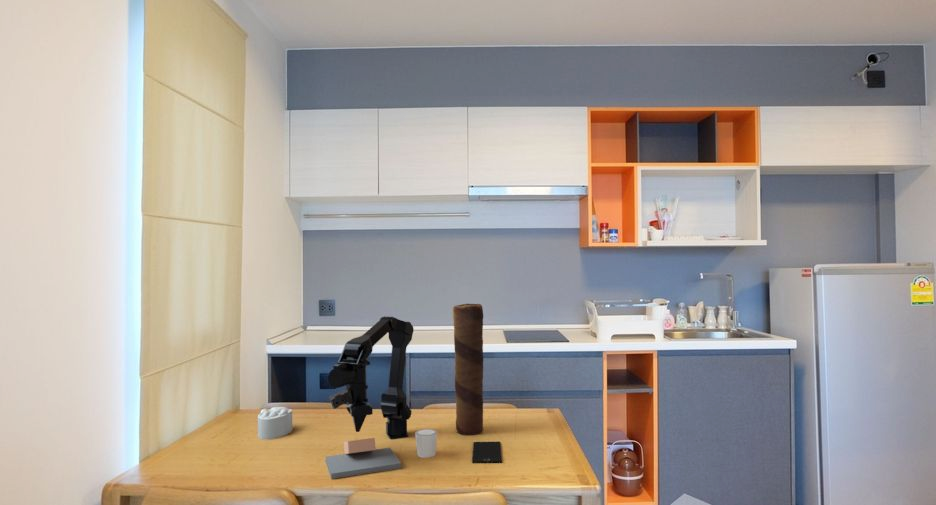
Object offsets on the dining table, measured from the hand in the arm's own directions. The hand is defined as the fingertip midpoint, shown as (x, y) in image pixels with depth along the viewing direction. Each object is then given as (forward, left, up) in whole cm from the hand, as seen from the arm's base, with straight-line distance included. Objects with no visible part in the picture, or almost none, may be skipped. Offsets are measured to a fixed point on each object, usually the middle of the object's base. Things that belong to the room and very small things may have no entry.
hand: (357, 431), depth 170 cm
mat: (0, +8, -8) cm, 11 cm away
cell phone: (-38, +13, -8) cm, 41 cm away
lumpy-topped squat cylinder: (+24, -35, -8) cm, 43 cm away
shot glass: (-20, +7, -8) cm, 23 cm away
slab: (0, -3, -5) cm, 6 cm away
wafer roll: (-41, -9, -8) cm, 43 cm away
